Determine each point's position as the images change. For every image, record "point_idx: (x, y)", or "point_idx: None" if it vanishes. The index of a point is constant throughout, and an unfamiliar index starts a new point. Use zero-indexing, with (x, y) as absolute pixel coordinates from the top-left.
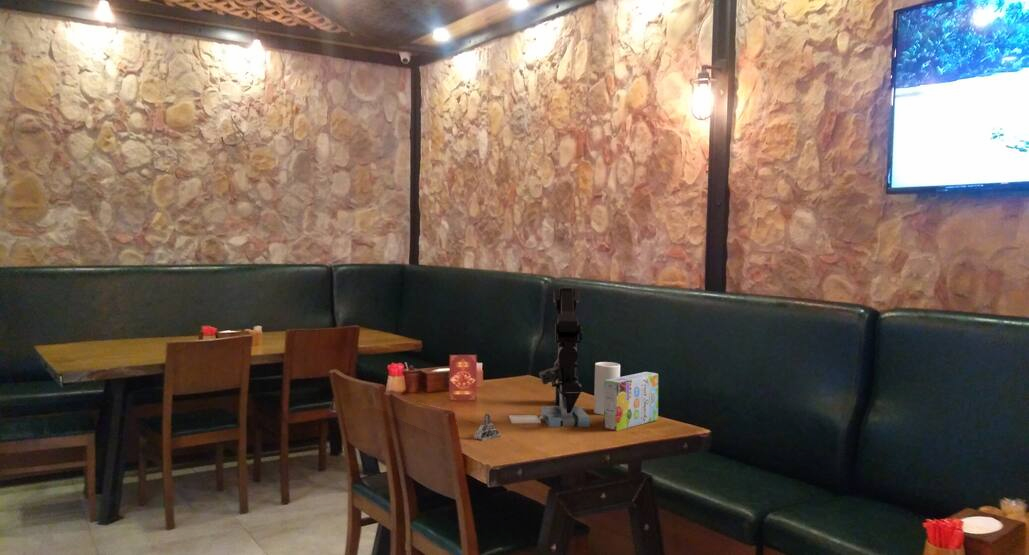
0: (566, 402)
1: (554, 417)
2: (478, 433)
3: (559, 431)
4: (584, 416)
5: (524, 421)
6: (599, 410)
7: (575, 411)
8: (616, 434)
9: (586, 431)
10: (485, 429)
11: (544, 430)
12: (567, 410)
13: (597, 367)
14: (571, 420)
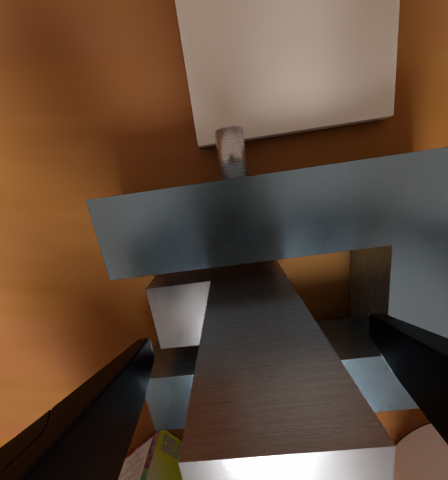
0: (38, 423)
1: (103, 239)
2: None
3: (57, 249)
4: (170, 409)
5: (199, 13)
6: (424, 455)
7: None
8: None
9: (91, 364)
10: None
11: (54, 168)
12: (124, 355)
13: None
14: (159, 329)
